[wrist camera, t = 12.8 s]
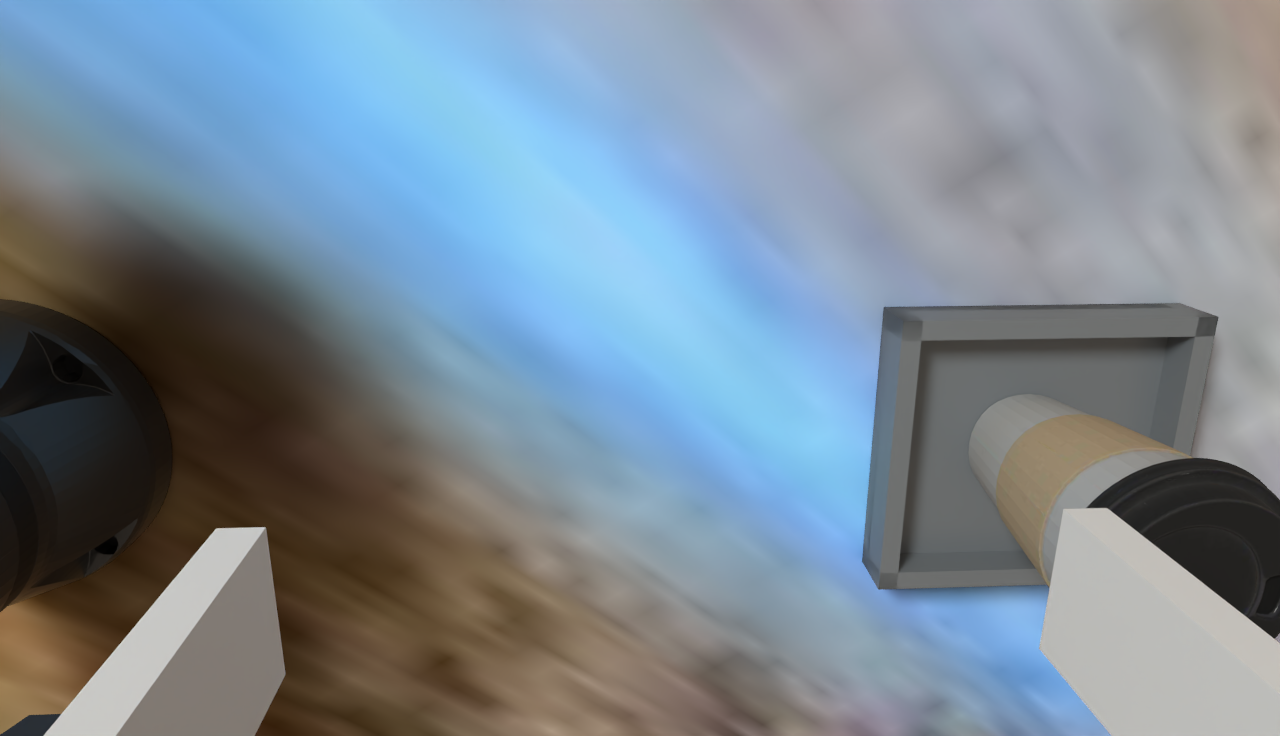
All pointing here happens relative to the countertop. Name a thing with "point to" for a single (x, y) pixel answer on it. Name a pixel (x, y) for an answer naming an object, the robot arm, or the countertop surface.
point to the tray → (986, 373)
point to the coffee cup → (1130, 497)
